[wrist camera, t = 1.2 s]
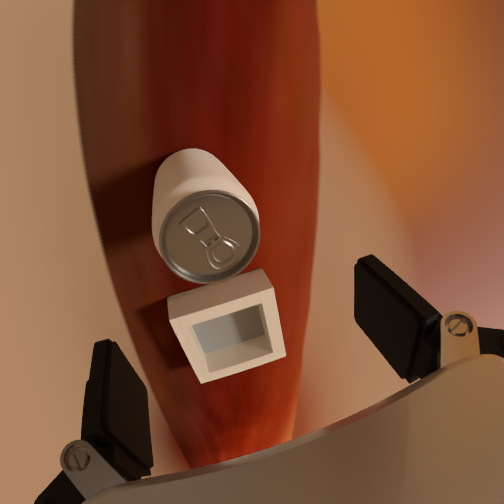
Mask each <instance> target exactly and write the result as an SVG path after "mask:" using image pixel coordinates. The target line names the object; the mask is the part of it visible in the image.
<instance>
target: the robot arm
mask: <svg viewBox="0 0 504 504" xmlns="http://www.w3.org/2000/svg"><path fill="white" fill-rule="evenodd" d="M354 281H355V282H354V288H355V289H354V317H355V320H356V323H357V324H358V325H359V326H360V328H361V329H362V330H363V331H364V333H365V334H366V335H367V336H368V338H369V339H370V340H371V341H372V342H373V344H374V345H375V346H376V348H377V349H378V350H379V351H380V353H381V354H382V355H383V356H384V357H385V359H386V360H387V361H388V363H389V364H390V365H391V366H392V368H393V369H394V370H395V371H396V372H397V374H398V375H399V376H400V378H402V379H404V378H405V379H406V380H407V381H408V382H409V383H412V382H414V381H415V380H417V379H419V378H420V379H421V380H419V381H417V382H415V383H414V384H412V385H410V386H408V387H406V388H405V389H403V390H401V391H399V392H397V393H395V394H393V395H392V396H390V397H388V398H386V399H384V400H382V401H380V402H379V403H376V404H374V405H372V406H370V407H368V408H366V409H364V410H362V411H360V412H358V413H356V414H353V415H351V416H349V417H347V418H345V419H343V420H340V421H338V422H336V423H333V424H331V425H329V426H326V427H324V428H322V429H319V430H317V431H314V432H312V433H309V434H307V435H304V436H301V437H299V438H296V439H293V440H291V441H288V442H285V443H282V444H279V445H277V446H274V447H271V448H268V449H265V450H261V451H258V452H255V453H252V454H249V455H245V456H242V457H238V458H235V459H231V460H228V461H224V462H220V463H216V464H212V465H208V466H204V467H200V468H195V469H191V470H186V471H182V472H177V473H173V474H167V475H162V476H156V477H150V478H145V479H141V477H142V476H149V475H151V471H150V468H152V467H153V455H152V445H151V435H150V423H149V411H148V396H147V395H148V394H147V389H146V387H145V385H144V383H143V382H142V380H141V379H140V378H139V376H138V375H137V373H136V372H135V370H134V369H133V367H132V366H131V364H130V363H129V361H128V360H127V358H126V357H125V355H124V354H123V352H122V351H121V349H120V347H119V346H118V344H117V343H116V342H115V341H114V342H112V341H111V340H110V339H106V340H102V341H99V342H96V343H95V344H94V348H93V355H92V362H91V369H90V376H89V380H88V381H87V383H86V389H85V396H84V406H83V416H82V428H81V440H75V441H72V442H70V443H69V444H67V445H66V446H65V448H64V449H63V451H62V453H61V457H60V463H61V467H62V469H63V470H62V471H61V473H60V474H59V475H58V476H57V477H56V478H55V479H54V480H53V481H52V482H51V483H50V484H49V486H48V487H47V488H46V489H45V490H44V491H43V492H42V493H41V494H40V495H39V496H38V497H37V499H36V500H35V502H34V504H504V330H501V329H491V328H483V327H477V325H476V322H475V320H474V319H473V317H471V316H470V315H469V314H467V313H464V312H460V311H452V312H449V313H447V314H445V315H444V316H442V315H441V314H440V313H439V312H438V311H437V310H436V309H435V308H434V307H433V306H432V305H430V304H429V303H428V302H427V301H426V300H425V299H424V298H423V297H421V296H420V295H419V294H418V293H417V292H416V291H415V290H414V289H413V288H411V287H410V286H409V285H408V284H407V283H406V282H405V281H403V280H402V279H401V278H400V277H399V276H398V275H396V274H395V273H394V272H393V271H392V270H391V269H389V268H388V267H387V266H385V264H383V263H382V262H381V261H380V260H379V259H377V258H376V257H375V256H374V255H371V254H370V255H368V256H365V257H362V258H360V259H358V261H357V264H355V266H354Z"/></svg>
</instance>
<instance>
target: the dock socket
mask: <svg viewBox="0 0 504 504" xmlns="http://www.w3.org/2000/svg"><path fill="white" fill-rule="evenodd" d="M167 302H168V314H169V321H170V323H171V325H172V327H173V329H174V331H175V334H176V336H177V338H178V340H179V342H180V344H181V346H182V348H183V350H184V352H185V354H186V356H187V358H188V360H189V362H190V363H191V365H192V367H193V369H194V371H195V373H196V375H197V377H198V379H199V381H200V382H201V383H205V382H208V381H212V380H215V379H218V378H222V377H225V376H228V375H231V374H235V373H238V372H241V371H244V370H247V369H250V368H253V367H256V366H259V365H262V364H265V363H268V362H271V361H274V360H276V359H279V358H282V357H285V356H286V353H285V347H284V342H283V337H282V331H281V326H280V320H279V315H278V309H277V304H276V299H275V293H274V288H273V286H272V284H271V283H270V281H269V279H268V277H267V276H266V274H265V272H264V271H263V269H262V268H259V269H256V270H253V271H250V272H246V273H243V274H240V275H237V276H234V277H232V278H230V279H227V280H225V281H222V282H218V283H212V284H208V285H205V286H202V287H199V288H196V289H192V290H189V291H186V292H183V293H179V294H176V295H173V296H170V297H167Z"/></svg>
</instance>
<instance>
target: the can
mask: <svg viewBox="0 0 504 504" xmlns="http://www.w3.org/2000/svg"><path fill="white" fill-rule="evenodd" d="M152 235H153V239H154V243H155V246H156V248H157V250H158V252H159V254H160V255H161V257H162V258H163V259H164V261H165V263H166V264H167V266H168V267H169V268H170V269H171V270H172V271H173V272H174V273H175V274H176V275H178V276H179V277H181V278H183V279H185V280H188V281H190V282H194V283H200V284H212V283H218V282H222V281H225V280H227V279H230V278H232V277H234V276H235V275H237V274H238V273H240V272H241V271H242V270H243V269H244V268H246V267H247V265H248V264H249V263H250V262H251V260H252V259H253V257H254V256H255V254H256V251H257V249H258V246H259V242H260V226H259V216H258V211H257V208H256V205H255V203H254V201H253V199H252V197H251V196H250V194H249V193H248V192H247V191H246V189H245V188H244V187H243V186H242V185H241V184H240V182H239V181H238V180H237V179H236V178H235V177H234V176H233V175H232V174H231V173H230V171H229V170H228V169H227V168H226V167H225V166H224V165H223V164H222V163H221V162H220V161H219V160H218V159H217V158H216V157H215V156H213V155H212V154H210V153H208V152H206V151H204V150H200V149H185V150H181V151H178V152H176V153H174V154H172V155H171V156H169V157H168V158H167V159H166V160H165V161H164V162H163V163H162V164H161V166H160V167H159V169H158V171H157V174H156V177H155V182H154V192H153V207H152Z"/></svg>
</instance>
